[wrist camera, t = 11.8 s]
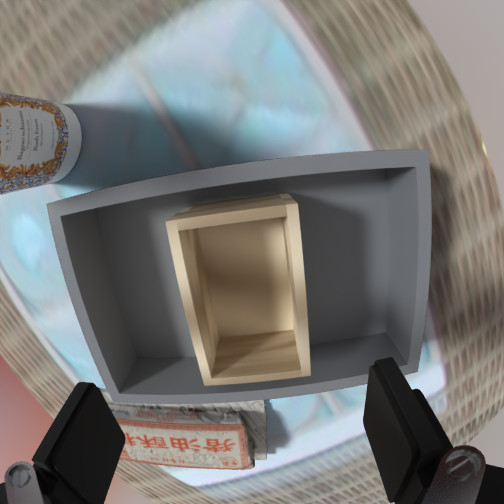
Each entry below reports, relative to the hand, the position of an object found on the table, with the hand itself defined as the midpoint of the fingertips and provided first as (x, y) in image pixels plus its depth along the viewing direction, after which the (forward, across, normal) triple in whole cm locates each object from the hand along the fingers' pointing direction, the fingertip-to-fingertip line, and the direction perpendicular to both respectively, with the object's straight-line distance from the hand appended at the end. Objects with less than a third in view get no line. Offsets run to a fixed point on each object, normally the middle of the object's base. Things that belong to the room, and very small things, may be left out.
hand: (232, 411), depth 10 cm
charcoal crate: (+16, 0, +1) cm, 16 cm away
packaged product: (+16, +9, +18) cm, 26 cm away
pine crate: (+15, 0, +1) cm, 15 cm away
